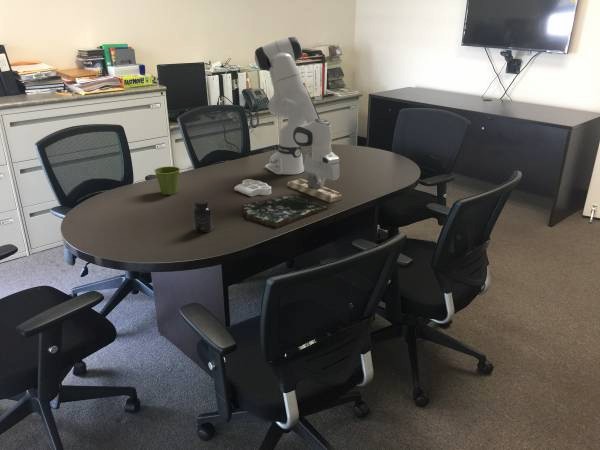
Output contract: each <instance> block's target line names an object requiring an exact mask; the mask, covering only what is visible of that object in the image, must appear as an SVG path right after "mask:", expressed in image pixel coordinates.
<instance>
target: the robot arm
mask: <svg viewBox="0 0 600 450" xmlns="http://www.w3.org/2000/svg"><path fill="white" fill-rule="evenodd" d="M302 55H303V47H302V44H301V41H299V39H298V38H297V37H296V36H290V37H289V36H288V38H283V39H278V40H275V41H273V42H270V43H267V44H266V45H264V46H259V47H258V48H255V52H254V62H255V63H256V66H257V67H258V68H259V69H260V70H262V71H267V72H269V75H270V79H271V82H272V88H273V96H271V97H270V98H269V101H268V105H267V107H268V111H269V113H270V114H271V115H274V116H276V117H279V118H284V119H287V122H286V125H284V126H282V128H281V129H280V131H279V144H277V145H276V148H277V151H276V152H275V153H273V154H272V155H271V156H270V157H269V162H268V163H267V164H266V165H265V166H264V168H265V169H267V170H269V171H271V172H272V173H274V174H276V175H298V174H301V173H303V172H307V173H310V174H315V175H316V179H317V184H319V185H320V186H325V182H326V180H331V181H336V180H338V179H339V178H340V157H339V156H338V155H336V154H335V153H334V152H333V151H332V146H331V145H332V140H333V138H332V137H333V135H332V134H333V132H332V131H333V130H332V124H331V122H330V121H329V120H328V119H325V118H320V116H319V113H318V111H317V109H316V107H315V104H314V101H313V99H312V97H311V94H310V93H309V91H308V89H307V88H306V87H305V85H304V83H303V80H302V77H301V75H300V71H299V69H298V67H297V63H296V61H299V59H301V57H303V56H302ZM303 147H311V151H308V152H306V153H305V158H304V160H303V153H302V152H303Z"/></svg>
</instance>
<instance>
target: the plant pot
mask: <svg viewBox="0 0 600 450" xmlns="http://www.w3.org/2000/svg"><path fill="white" fill-rule="evenodd" d="M180 171H181V168H180V167H178V166H159V167H158V168H155V169H154V170H153V172H154V173H155V175H156V176H155V177H156V178H157V181H158V185H159V188H160V192H161V194H162V195H165V196H166V195H168V196H172V195H175V194H177V193H178V187H179V186H178V185H179V184H178V183H179V175H180Z"/></svg>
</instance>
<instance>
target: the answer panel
mask: <svg viewBox="0 0 600 450" xmlns="http://www.w3.org/2000/svg"><path fill="white" fill-rule="evenodd" d="M287 187H289V188H291V189H294V190H297V191H299V192H301V193H305V194H306V195H308V196H309V195H310V196H312V197H314V196H315V197H314V198H318V199H320V200H322V201H325V202H327V203H334V202H337V201H341V200H343V199H342V198H343V195H342V194H341V192H338V191H336V190H334V189H330V188H328V187H326V186H324V185H320V188H317V189H312V188H309V187H308V180H306V179H303V178H300V177H299V178H298V179H296V180H289V181H288V182H287Z"/></svg>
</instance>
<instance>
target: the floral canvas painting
mask: <svg viewBox="0 0 600 450" xmlns="http://www.w3.org/2000/svg"><path fill="white" fill-rule="evenodd" d="M241 209H242V210H243V211H241V216H242V218H243V217H244V218H245V219H246V220H247V221H252V222H256V223H260V225H264V226H266V227H273V228H275V229H278V228H280V227H283V226H285V225H288V224H291V223H294V222H297V221H300V220H302V219H305V218H308V217H310V216H312V215H315V213H316V214H318V213H321V212H324V211H326V210H328V206H327V205H323V204H321V203H319V202H315V201H313V200H310V199H307V198H303V197H301V196H298V195H295V194H291V193H290V194H288V195H282V196H278V197H274V198H270V199H267V200H263V201H255V202H251V203H247V204H244V205H241Z"/></svg>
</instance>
